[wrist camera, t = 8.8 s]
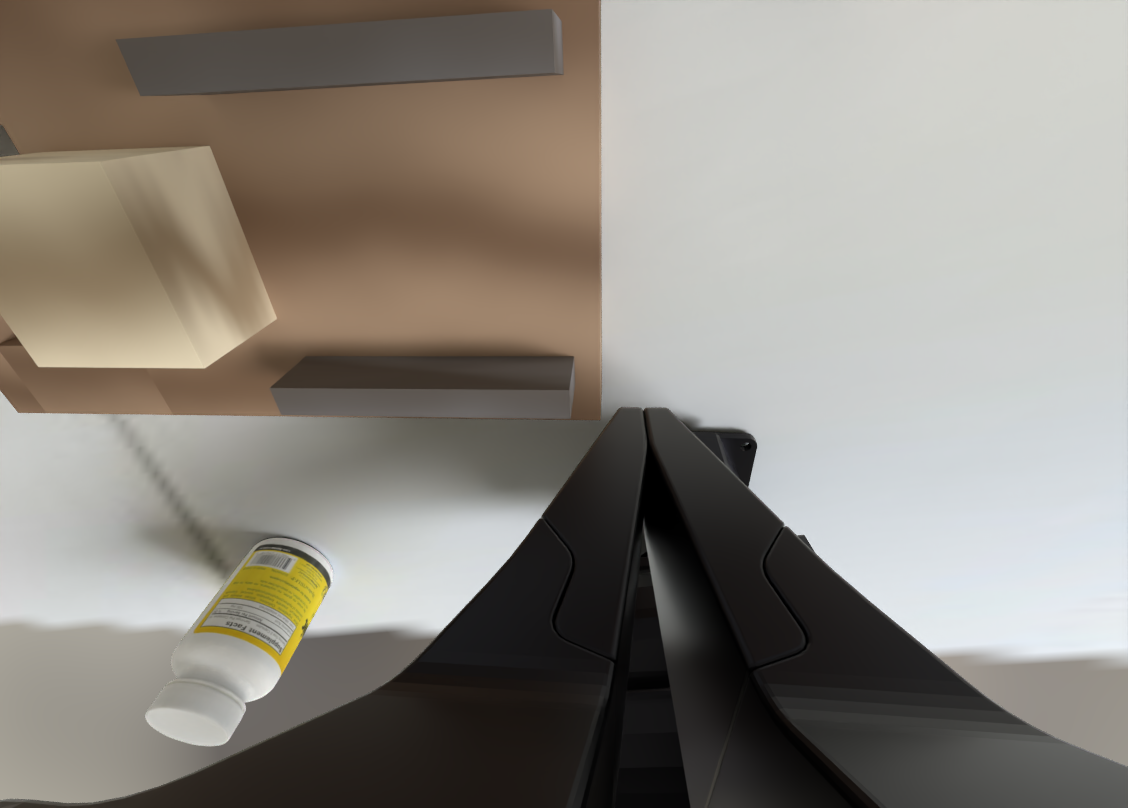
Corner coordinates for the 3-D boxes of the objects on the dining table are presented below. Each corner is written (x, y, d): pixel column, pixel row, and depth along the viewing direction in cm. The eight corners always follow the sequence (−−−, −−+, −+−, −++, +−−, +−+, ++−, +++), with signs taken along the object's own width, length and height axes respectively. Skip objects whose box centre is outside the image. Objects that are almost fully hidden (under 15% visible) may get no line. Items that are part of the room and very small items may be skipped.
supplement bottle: (301, 597, 34) (201, 760, 26) (237, 550, 31) (104, 713, 23) (353, 574, 32) (263, 743, 24) (289, 523, 29) (164, 690, 21)
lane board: (601, 389, 22) (598, 458, 18) (68, 385, 25) (-42, 445, 21) (600, -50, 14) (595, -107, 10) (-194, 14, 17) (-461, -9, 13)
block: (277, 318, 19) (204, 368, 16) (137, 318, 19) (38, 366, 16) (209, 145, 16) (100, 161, 12) (43, 151, 16) (-105, 168, 13)
